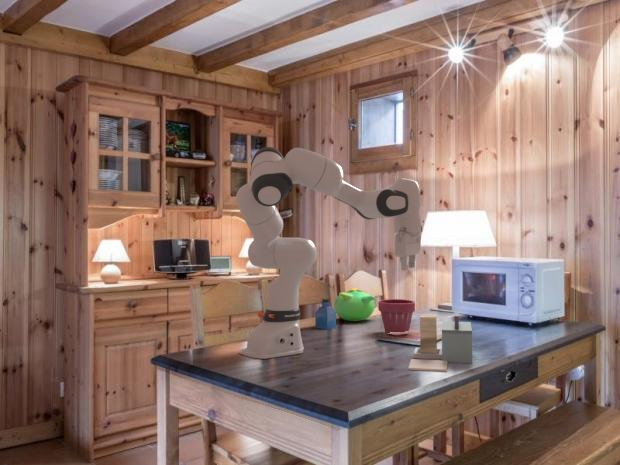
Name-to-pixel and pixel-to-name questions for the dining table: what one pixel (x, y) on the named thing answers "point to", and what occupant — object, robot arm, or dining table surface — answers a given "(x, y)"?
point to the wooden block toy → (452, 343)
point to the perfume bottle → (325, 316)
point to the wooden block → (428, 334)
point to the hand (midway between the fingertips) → (408, 268)
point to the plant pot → (396, 314)
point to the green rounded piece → (354, 305)
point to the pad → (428, 365)
